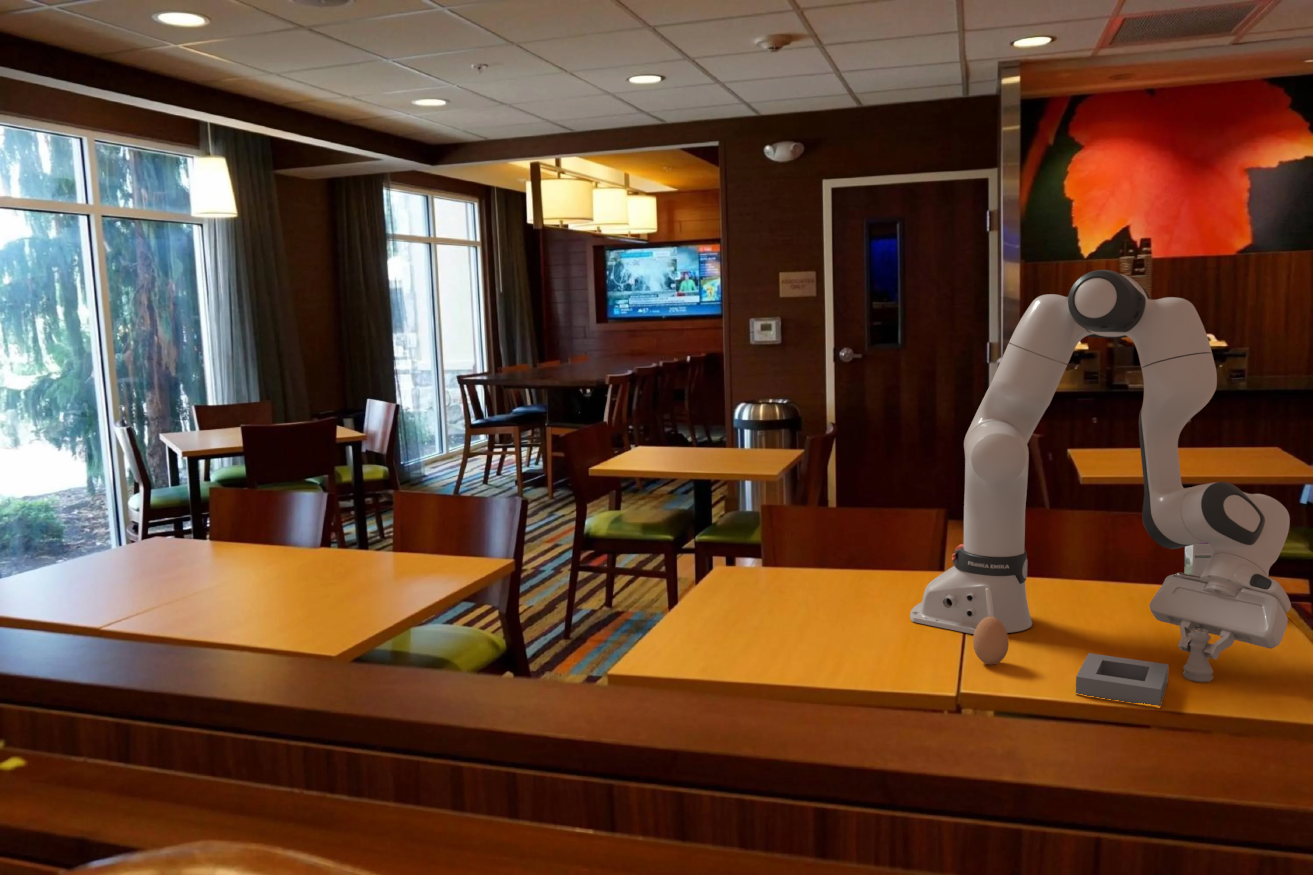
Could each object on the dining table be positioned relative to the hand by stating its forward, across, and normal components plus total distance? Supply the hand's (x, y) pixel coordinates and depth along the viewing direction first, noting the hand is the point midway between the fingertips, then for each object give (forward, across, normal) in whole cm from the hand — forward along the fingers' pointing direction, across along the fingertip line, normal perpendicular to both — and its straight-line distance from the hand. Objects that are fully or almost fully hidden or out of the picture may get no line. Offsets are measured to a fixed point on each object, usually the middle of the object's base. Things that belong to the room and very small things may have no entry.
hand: (1196, 652), depth 167 cm
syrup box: (-24, -20, +31) cm, 44 cm away
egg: (+17, -25, -11) cm, 32 cm away
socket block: (+12, -5, -6) cm, 14 cm away
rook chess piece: (+3, 0, +4) cm, 5 cm away
